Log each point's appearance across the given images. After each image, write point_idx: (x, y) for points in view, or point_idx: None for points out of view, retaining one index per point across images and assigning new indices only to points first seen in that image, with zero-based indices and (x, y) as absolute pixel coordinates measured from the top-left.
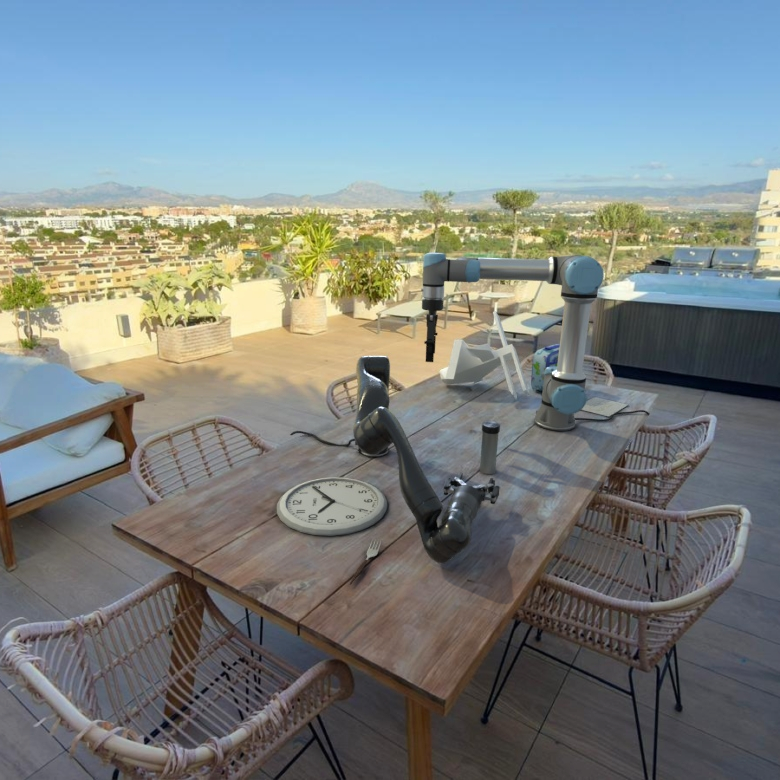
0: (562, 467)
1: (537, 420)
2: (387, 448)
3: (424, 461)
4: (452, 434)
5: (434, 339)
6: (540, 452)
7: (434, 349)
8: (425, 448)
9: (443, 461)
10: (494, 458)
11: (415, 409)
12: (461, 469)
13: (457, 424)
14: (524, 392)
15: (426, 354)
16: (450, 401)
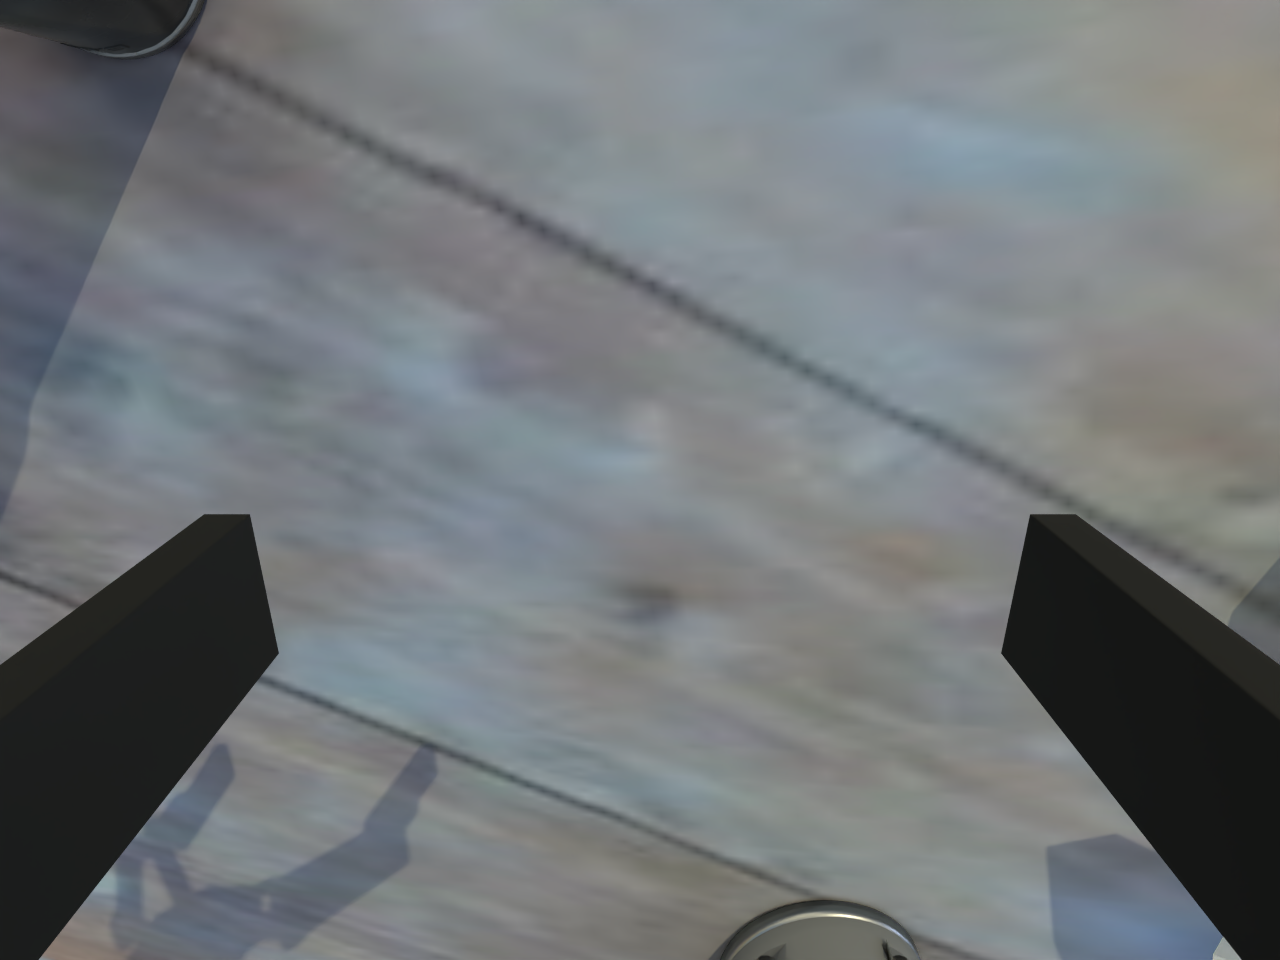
0: (289, 930)
1: (795, 929)
2: (86, 49)
3: (98, 332)
4: (576, 488)
5: (1228, 904)
6: (430, 877)
7: (1047, 696)
8: (297, 326)
9: (145, 443)
10: None
11: (1080, 194)
12: (83, 537)
13: (762, 517)
14: (1217, 948)
15: (96, 612)
16: (1258, 468)
